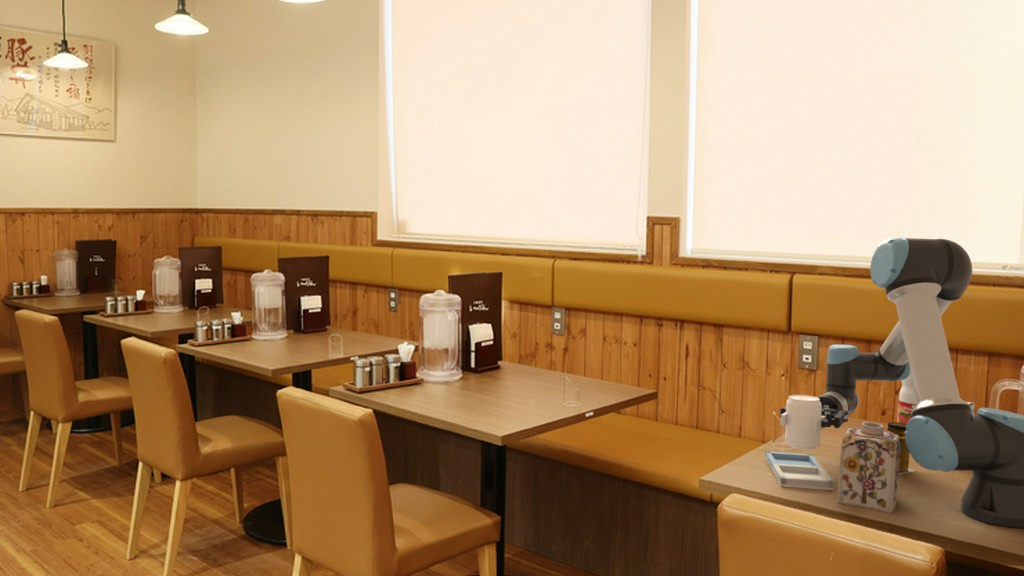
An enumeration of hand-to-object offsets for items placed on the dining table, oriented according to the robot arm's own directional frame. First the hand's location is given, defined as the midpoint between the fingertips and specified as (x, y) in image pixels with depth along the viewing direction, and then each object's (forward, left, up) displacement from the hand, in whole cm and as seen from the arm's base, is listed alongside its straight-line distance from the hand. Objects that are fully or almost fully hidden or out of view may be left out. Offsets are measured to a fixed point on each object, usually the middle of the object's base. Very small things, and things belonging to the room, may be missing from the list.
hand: (798, 423), depth 198 cm
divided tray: (+10, -2, -15) cm, 18 cm away
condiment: (+20, -28, -16) cm, 38 cm away
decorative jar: (-8, -14, -15) cm, 23 cm away
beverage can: (+4, -2, -7) cm, 8 cm away
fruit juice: (+51, -43, -15) cm, 69 cm away
